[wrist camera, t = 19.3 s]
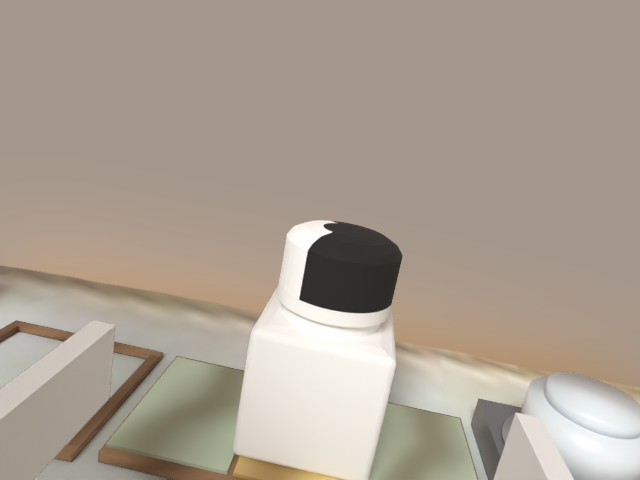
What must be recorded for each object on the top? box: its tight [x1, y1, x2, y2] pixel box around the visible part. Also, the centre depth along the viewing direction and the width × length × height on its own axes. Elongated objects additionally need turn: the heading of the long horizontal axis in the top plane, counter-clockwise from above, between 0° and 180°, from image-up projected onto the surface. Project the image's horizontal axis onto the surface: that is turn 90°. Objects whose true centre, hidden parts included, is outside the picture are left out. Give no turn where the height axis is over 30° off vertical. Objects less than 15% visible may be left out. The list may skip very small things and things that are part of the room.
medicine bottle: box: [233, 220, 402, 480], centre depth 27 cm, size 7×7×12 cm
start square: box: [0, 321, 163, 462], centre depth 30 cm, size 11×11×1 cm
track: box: [98, 356, 478, 480], centre depth 29 cm, size 20×10×1 cm, turn 84°
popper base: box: [471, 399, 522, 480], centre depth 29 cm, size 9×9×2 cm
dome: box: [521, 372, 640, 480], centre depth 28 cm, size 7×7×3 cm
